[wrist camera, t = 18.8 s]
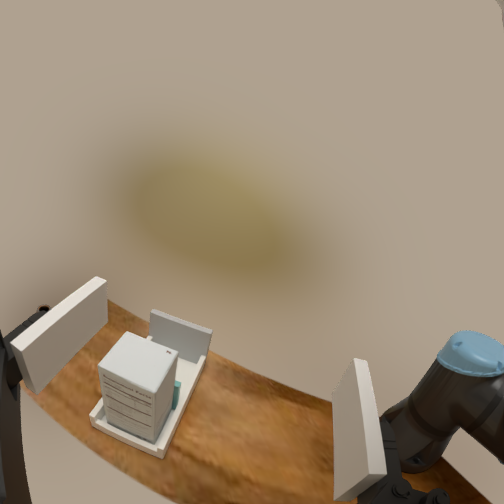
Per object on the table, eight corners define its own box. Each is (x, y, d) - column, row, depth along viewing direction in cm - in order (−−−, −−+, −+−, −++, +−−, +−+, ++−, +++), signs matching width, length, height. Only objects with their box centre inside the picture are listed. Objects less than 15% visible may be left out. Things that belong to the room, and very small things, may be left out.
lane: (162, 459, 29) (164, 431, 27) (92, 426, 30) (83, 392, 27) (205, 364, 49) (213, 330, 46) (150, 343, 50) (153, 308, 47)
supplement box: (128, 390, 38) (127, 328, 33) (172, 410, 37) (181, 350, 33) (105, 424, 31) (95, 363, 26) (154, 447, 30) (156, 392, 26)
